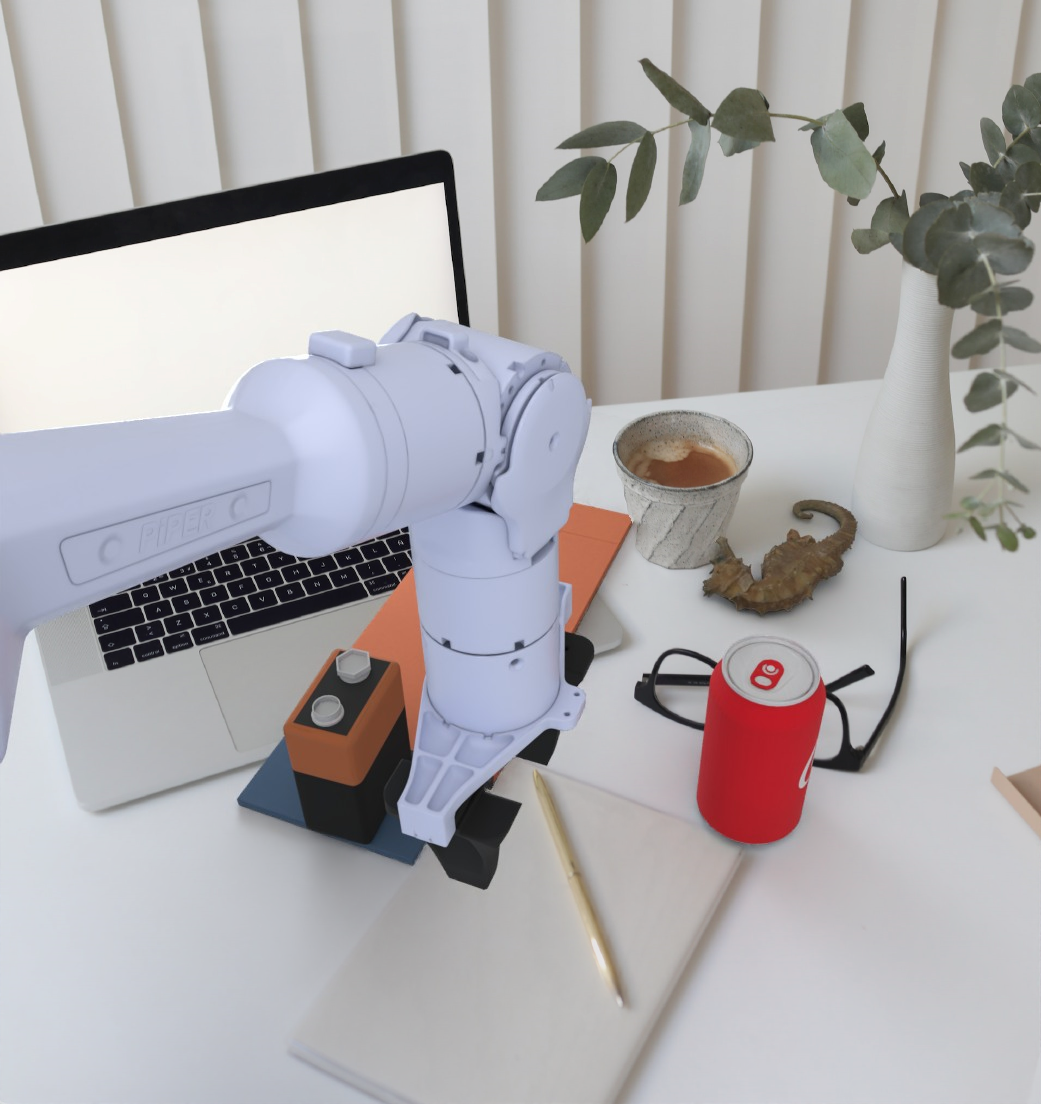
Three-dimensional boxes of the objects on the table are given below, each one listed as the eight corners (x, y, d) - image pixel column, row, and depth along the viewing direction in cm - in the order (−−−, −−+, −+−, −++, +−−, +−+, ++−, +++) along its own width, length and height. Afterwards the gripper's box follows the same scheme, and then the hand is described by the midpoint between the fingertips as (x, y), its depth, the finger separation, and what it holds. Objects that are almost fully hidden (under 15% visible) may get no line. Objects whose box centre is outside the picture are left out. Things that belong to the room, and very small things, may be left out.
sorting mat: (444, 877, 61) (443, 870, 61) (237, 805, 66) (235, 797, 65) (634, 521, 87) (634, 514, 87) (477, 486, 91) (476, 479, 91)
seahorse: (904, 553, 83) (912, 521, 81) (755, 640, 76) (760, 608, 74) (813, 499, 89) (819, 468, 87) (668, 575, 82) (670, 543, 80)
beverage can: (815, 795, 65) (848, 653, 58) (776, 869, 61) (806, 727, 54) (720, 754, 68) (740, 613, 60) (677, 822, 64) (692, 681, 56)
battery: (415, 763, 67) (401, 648, 61) (370, 850, 62) (349, 735, 56) (352, 747, 68) (332, 632, 62) (302, 831, 63) (275, 716, 57)
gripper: (511, 766, 37) (522, 971, 46) (636, 524, 47) (626, 729, 56) (334, 712, 39) (376, 918, 48) (490, 492, 50) (502, 694, 58)
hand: (502, 813), depth 52 cm, fingers open, 7 cm apart
